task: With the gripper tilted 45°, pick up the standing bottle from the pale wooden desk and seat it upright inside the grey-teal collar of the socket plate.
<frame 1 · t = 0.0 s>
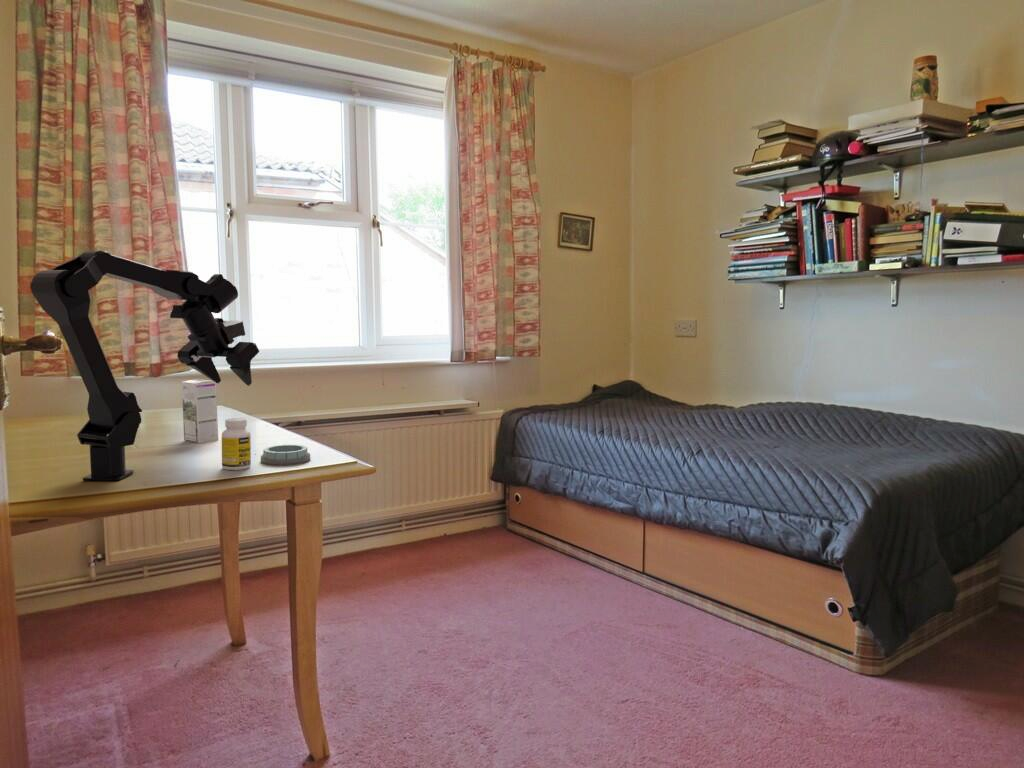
hand: (234, 383, 161), 15 cm above the table, tool tilted 35°, fingers open, 9 cm apart
syrup box: (201, 441, 171), on the table
socket plate: (285, 460, 151), on the table
supplement bottle: (236, 468, 143), on the table
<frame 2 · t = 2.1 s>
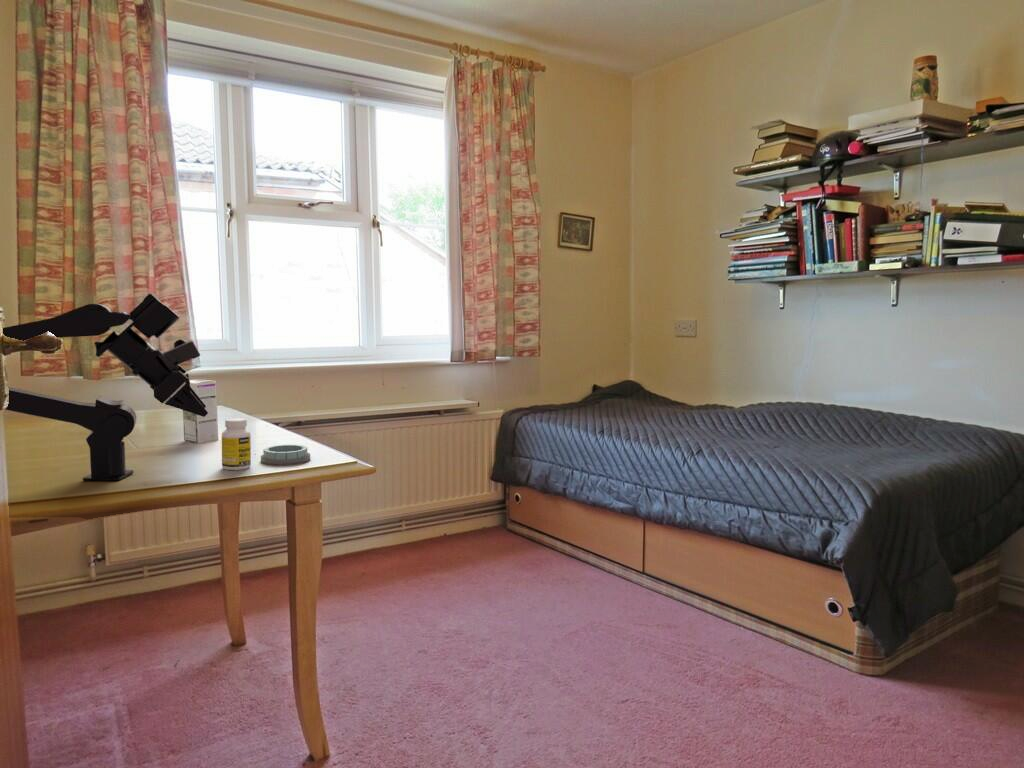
hand: (205, 411, 140), 12 cm above the table, tool tilted 45°, fingers open, 9 cm apart
nothing on the table moved.
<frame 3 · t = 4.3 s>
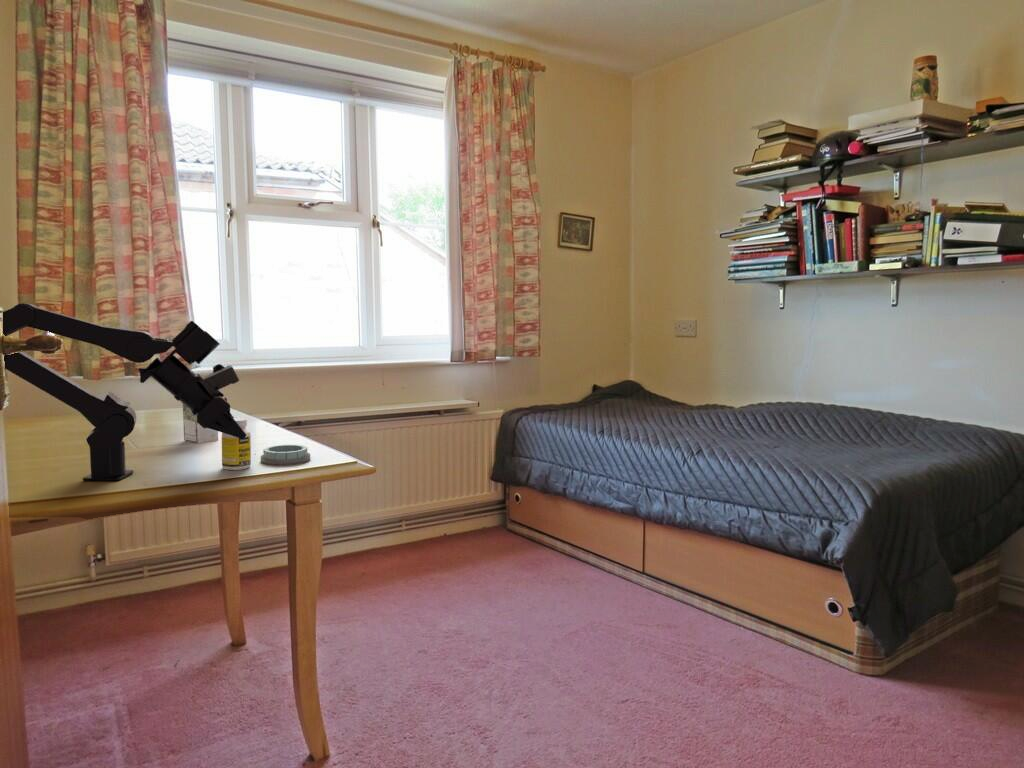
hand: (243, 434, 143), 7 cm above the table, tool tilted 45°, fingers closed on supplement bottle, 5 cm apart
supplement bottle: (236, 468, 143), on the table, touching gripper
everything else where it was.
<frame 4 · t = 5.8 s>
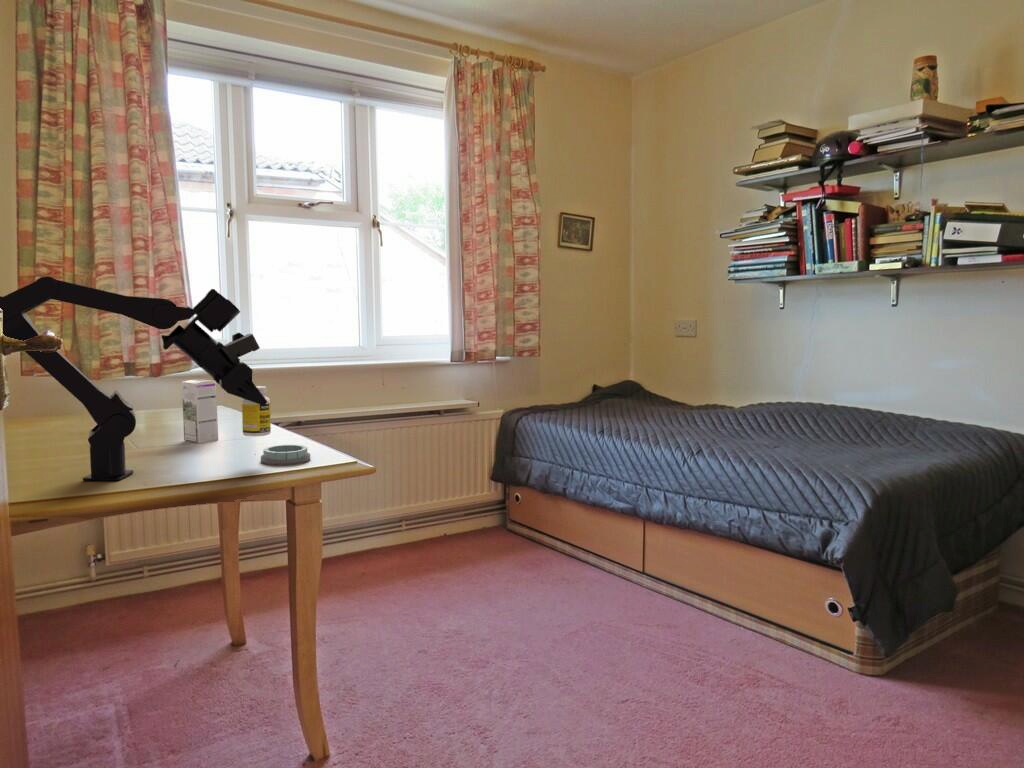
hand: (263, 402, 146), 13 cm above the table, tool tilted 45°, fingers closed on supplement bottle, 5 cm apart
supplement bottle: (257, 435, 146), point 6 cm above the table, touching gripper
everything else where it was.
when the fingers open (8 cm above the table, at t = 7.6 s): supplement bottle stays where it is, resting on socket plate.
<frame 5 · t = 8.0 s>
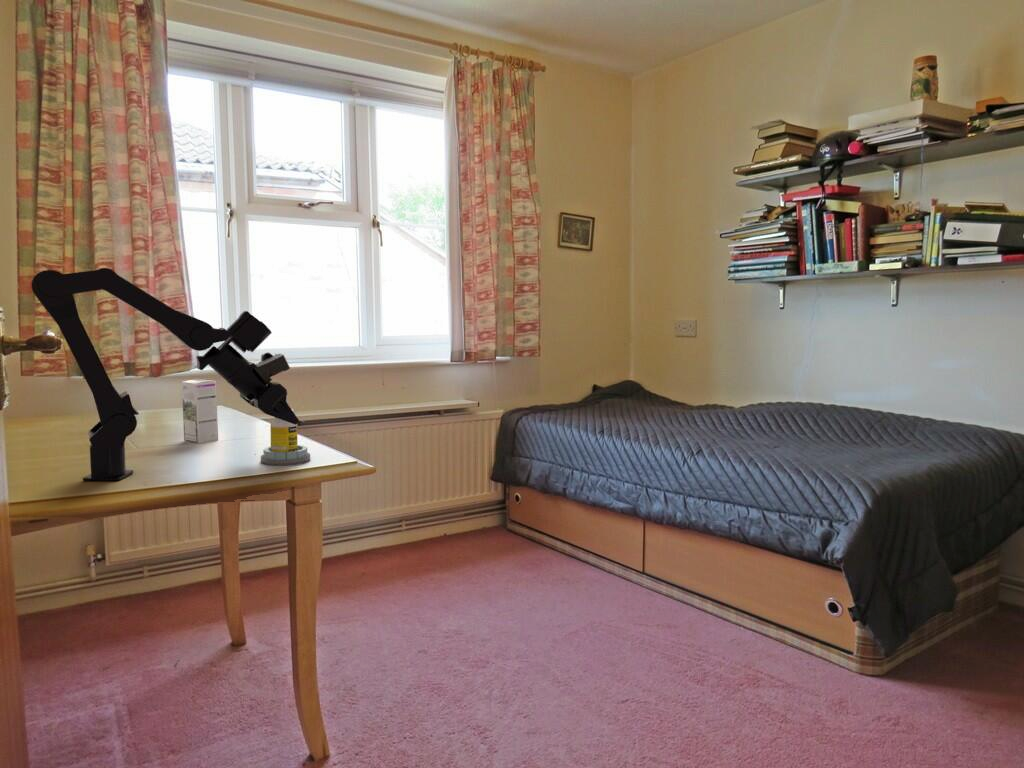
hand: (291, 419, 151), 9 cm above the table, tool tilted 45°, fingers open, 9 cm apart
supplement bottle: (284, 456, 151), point 1 cm above the table, touching socket plate
everything else where it was.
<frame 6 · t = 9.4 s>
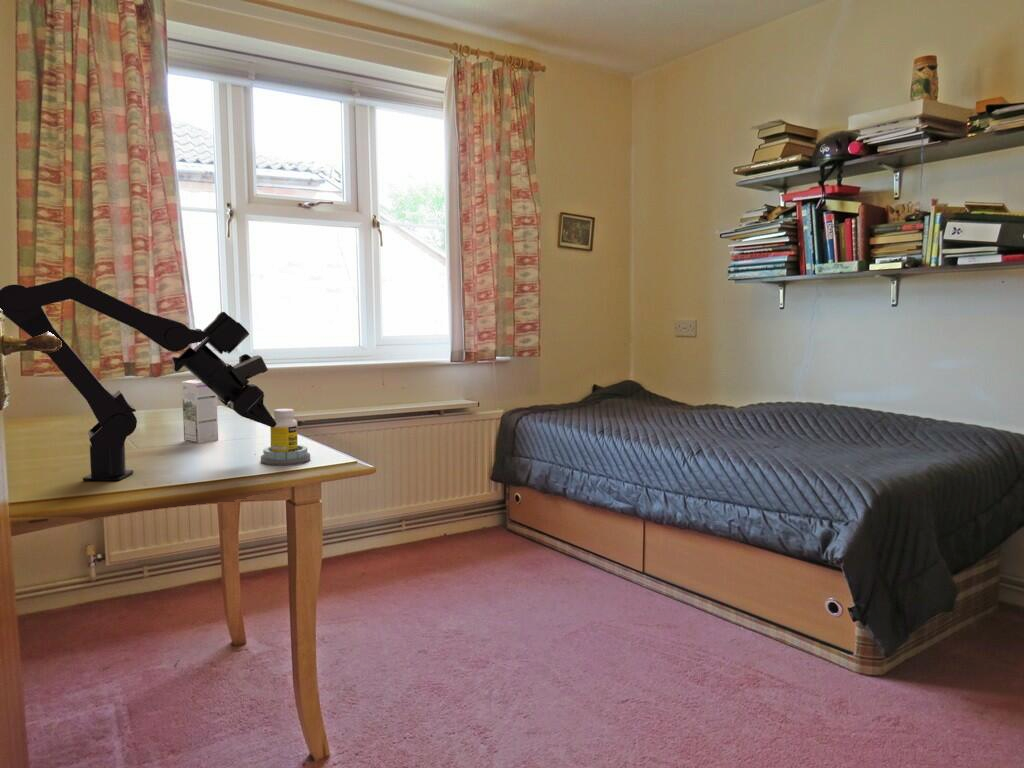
hand: (269, 422, 149), 8 cm above the table, tool tilted 45°, fingers open, 9 cm apart
nothing on the table moved.
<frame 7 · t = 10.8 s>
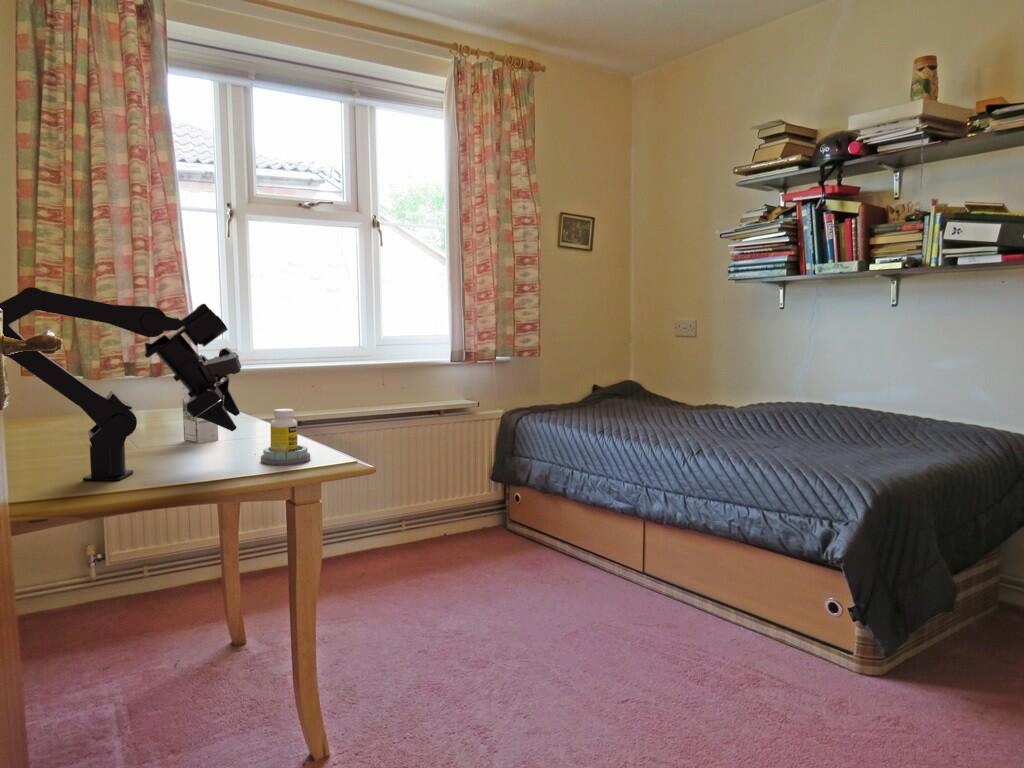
hand: (236, 421, 145), 9 cm above the table, tool tilted 35°, fingers open, 9 cm apart
nothing on the table moved.
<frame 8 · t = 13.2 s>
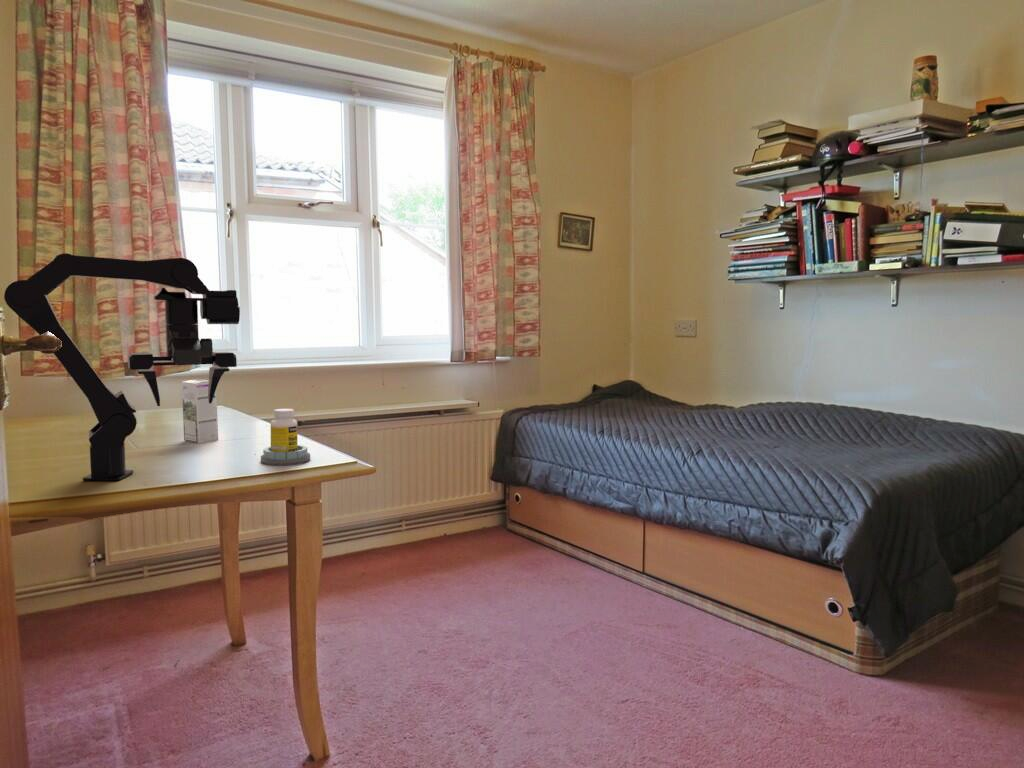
hand: (184, 404, 139), 13 cm above the table, tool pointing down, fingers open, 9 cm apart
nothing on the table moved.
at the end: supplement bottle 0.3 cm off-centre on the socket plate, point 0.8 cm above the socket plate's base; supplement bottle tilted 0°; the gripper is holding nothing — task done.
